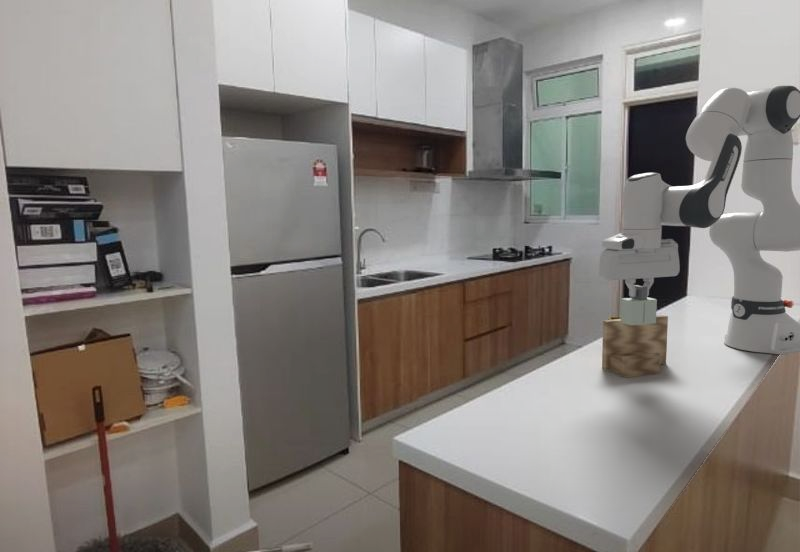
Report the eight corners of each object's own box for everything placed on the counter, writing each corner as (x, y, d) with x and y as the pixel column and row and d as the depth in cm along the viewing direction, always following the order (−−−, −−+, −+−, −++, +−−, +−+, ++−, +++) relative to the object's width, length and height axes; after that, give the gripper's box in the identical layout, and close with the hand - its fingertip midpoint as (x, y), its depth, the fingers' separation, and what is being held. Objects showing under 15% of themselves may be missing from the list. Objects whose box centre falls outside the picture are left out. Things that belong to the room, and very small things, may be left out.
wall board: (661, 361, 133) (663, 314, 131) (683, 370, 125) (685, 321, 123) (602, 368, 129) (603, 320, 127) (620, 378, 122) (621, 327, 120)
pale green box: (644, 319, 126) (646, 284, 124) (656, 323, 122) (657, 286, 120) (620, 321, 124) (621, 285, 123) (631, 325, 120) (632, 288, 119)
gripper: (668, 237, 125) (666, 291, 127) (596, 241, 121) (594, 296, 123) (687, 239, 119) (684, 295, 121) (611, 243, 115) (610, 301, 117)
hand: (638, 296), depth 122 cm, fingers closed on pale green box
